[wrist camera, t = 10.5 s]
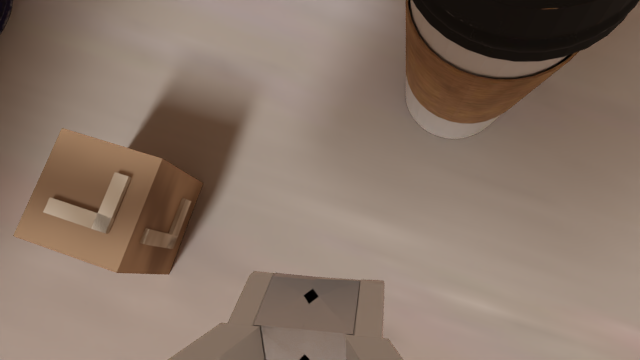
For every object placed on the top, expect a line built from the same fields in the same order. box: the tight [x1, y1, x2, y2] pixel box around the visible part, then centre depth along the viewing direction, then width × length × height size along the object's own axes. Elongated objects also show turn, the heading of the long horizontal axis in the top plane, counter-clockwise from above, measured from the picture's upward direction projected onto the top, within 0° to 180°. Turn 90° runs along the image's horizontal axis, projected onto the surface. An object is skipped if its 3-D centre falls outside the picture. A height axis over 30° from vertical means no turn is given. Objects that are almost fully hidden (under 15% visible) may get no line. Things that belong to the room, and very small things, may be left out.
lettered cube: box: [13, 128, 203, 274], centre depth 25 cm, size 6×6×6 cm
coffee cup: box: [406, 0, 639, 139], centre depth 21 cm, size 8×8×15 cm
